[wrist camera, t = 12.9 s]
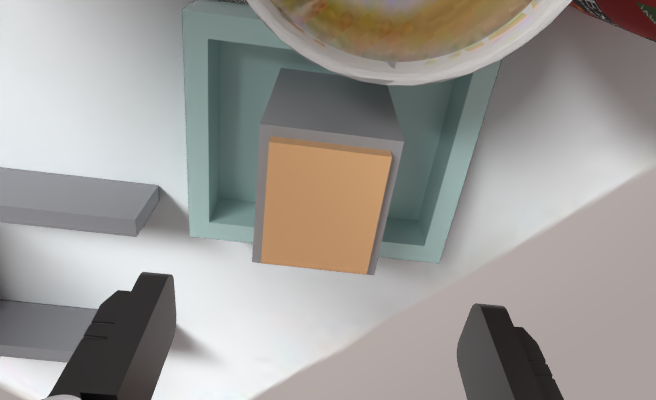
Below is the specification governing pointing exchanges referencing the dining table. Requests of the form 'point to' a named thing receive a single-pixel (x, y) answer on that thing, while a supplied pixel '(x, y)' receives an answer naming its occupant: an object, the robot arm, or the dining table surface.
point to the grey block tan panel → (325, 172)
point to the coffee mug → (406, 34)
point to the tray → (247, 111)
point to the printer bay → (66, 213)
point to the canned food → (623, 14)
